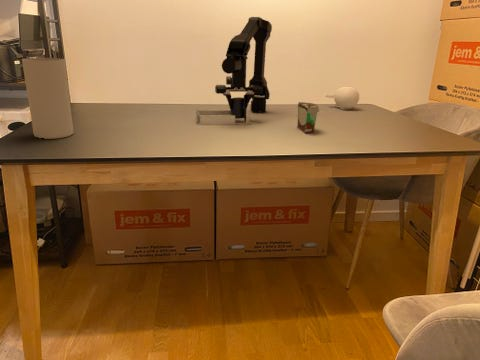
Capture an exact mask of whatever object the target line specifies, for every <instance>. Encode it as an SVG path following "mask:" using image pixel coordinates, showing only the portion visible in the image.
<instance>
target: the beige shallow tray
mask: <svg viewBox="0 0 480 360" xmlns="http://www.w3.org/2000/svg"><path fill="white" fill-rule="evenodd" d="M195 111H196V112H195V115H196V116H195V117H196V118H195V120H196V124H197V126H198V125H201V126H202V125H203V126H204V125H205V126H206V125H209V126H210V125H216V126H217V125H221V126H222V125H253V122H252V120H250V119H249V117H248V116H246V121H244V118H240V119H235V115H232V112H231V110H230V109H209V110H208V109H196V110H195Z"/></svg>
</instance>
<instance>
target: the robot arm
mask: <svg viewBox="0 0 480 360" xmlns="http://www.w3.org/2000/svg"><path fill="white" fill-rule="evenodd" d="M272 25H273V24H271V22H270V21H268V20H266V19H263V18H262V17H260V16H251V17H249V18H248V21H247V23H246V24H245V26H244V27H243V29H242V30H241V32H240V33H239V34H237V35H234V36H233V37H232V38H231V40H230V42H229V43H228V47H227V51H226V53H225V57H226V58H225V59H223V61H222V63H221V68H222V70H223V72H224V73H225V74H228V75H229V74H231V75H229V76H226V77H225V78H226V79H225V84H226V85H227V86H226V85H225V84H215V86H214V89H215V90H214V92H215V94H219V95H221V94H222V95H223V96H224V97H226V101H227V103H228V107H229V110H231V111H232V102H231V98H232V94H231V92H234V93H235V92H237V93H238V92H243V93H244V92H245V94H246V103H245V110H246V111H247V109H248V106H249V103H250V111H251V112H252V113H267V109H266V108H267V100H270V95H271V94H270V90H269V88H268V81H267V79H266V77H265V65H266V64H265V63H266V52H267V51H266V49H267V48H266V47H267V46H266V45H267V43H268V40H269V39H270V38H271V33H272V30H273V26H272ZM252 39H253V40H254V42H255V44H254V63H253V76H252V77H251V79H249V82H248V86H247V85H246V84H247V83H246V82H247V60H248V54H249V51H250V50H251V40H252Z"/></svg>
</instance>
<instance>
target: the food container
mask: <svg viewBox="0 0 480 360" xmlns="http://www.w3.org/2000/svg"><path fill="white" fill-rule="evenodd" d="M319 112H320V107H319V105H318V104H316V103H314V102H313V103H312V102H305V101H303V102H302V101H301V102H299V101H298V104H297V125H296V128H297V129H298V130H299V131H300V132H302V133H304V134H313V133H314V132H315V127H316V120H317V116H318V113H319Z"/></svg>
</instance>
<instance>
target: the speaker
mask: <svg viewBox="0 0 480 360" xmlns="http://www.w3.org/2000/svg"><path fill="white" fill-rule="evenodd" d="M231 102H232V111H231V112H232V115H235V119H240V118H244V121H246V117H247V109H246V110H245V103H246V93H245V94H244V95H243V97H236V96H235V97H231Z"/></svg>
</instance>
